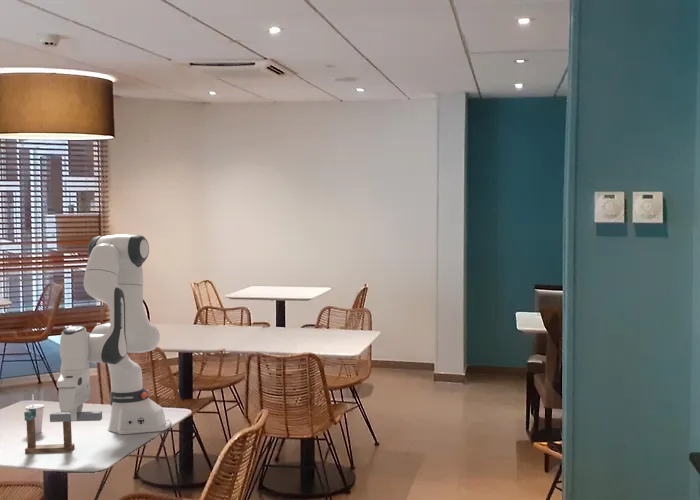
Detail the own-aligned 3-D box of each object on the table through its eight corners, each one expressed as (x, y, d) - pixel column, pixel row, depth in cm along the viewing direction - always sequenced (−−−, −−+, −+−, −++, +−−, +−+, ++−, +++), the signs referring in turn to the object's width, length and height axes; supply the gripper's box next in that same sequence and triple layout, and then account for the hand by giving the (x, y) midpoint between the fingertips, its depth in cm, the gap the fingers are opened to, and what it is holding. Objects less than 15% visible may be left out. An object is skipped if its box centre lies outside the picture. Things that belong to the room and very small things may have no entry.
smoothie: (29, 430, 280) (28, 392, 279) (47, 429, 280) (46, 391, 280) (24, 435, 274) (22, 396, 273) (42, 434, 274) (40, 396, 273)
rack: (75, 447, 257) (73, 407, 257) (70, 452, 253) (68, 410, 252) (30, 449, 257) (28, 408, 256) (24, 453, 252) (22, 412, 251)
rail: (102, 418, 248) (102, 411, 248) (100, 420, 245) (99, 413, 245) (52, 420, 247) (52, 412, 247) (49, 422, 244) (49, 414, 244)
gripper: (75, 371, 256) (76, 411, 256) (54, 383, 235) (55, 427, 236) (94, 370, 256) (95, 411, 257) (75, 383, 236) (76, 427, 236)
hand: (76, 419), depth 246 cm, fingers closed on rail, 2 cm apart
